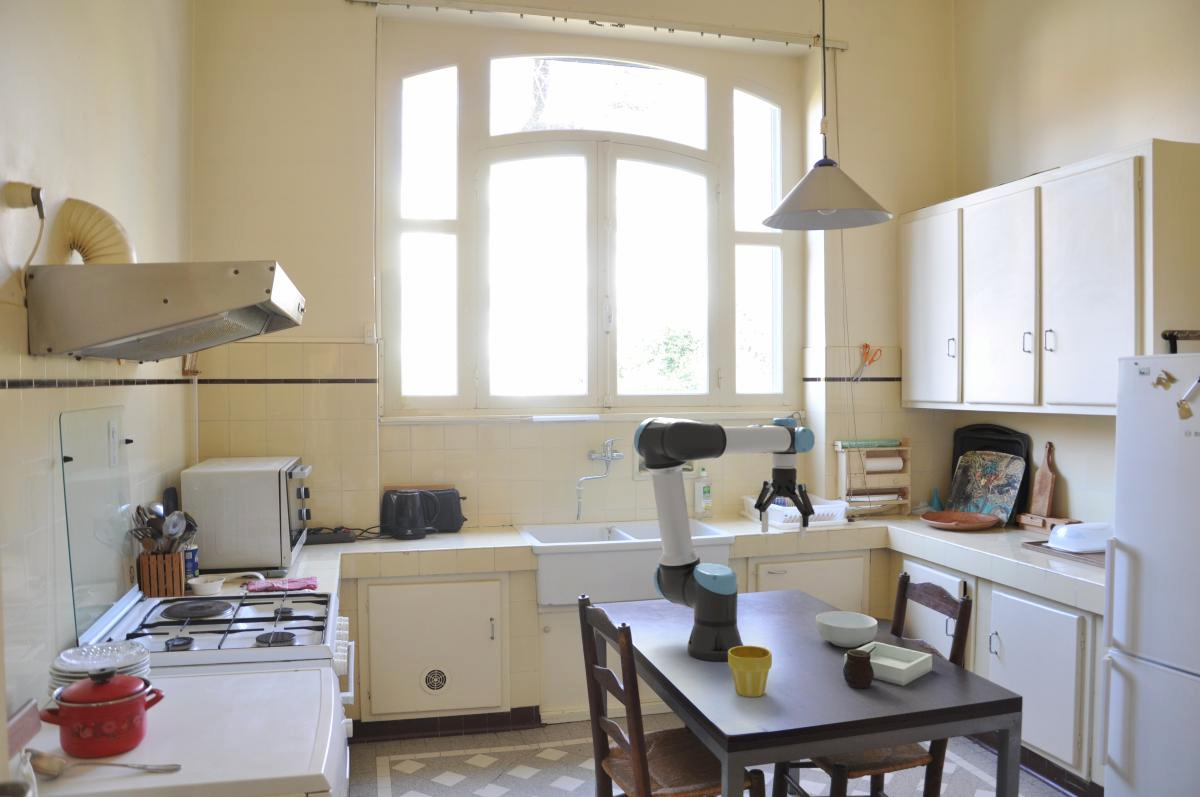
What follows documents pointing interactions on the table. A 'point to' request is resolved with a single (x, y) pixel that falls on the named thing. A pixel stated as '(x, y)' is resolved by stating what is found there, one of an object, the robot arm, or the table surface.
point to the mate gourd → (858, 668)
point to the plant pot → (750, 669)
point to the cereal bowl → (846, 628)
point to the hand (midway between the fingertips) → (783, 534)
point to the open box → (896, 663)
